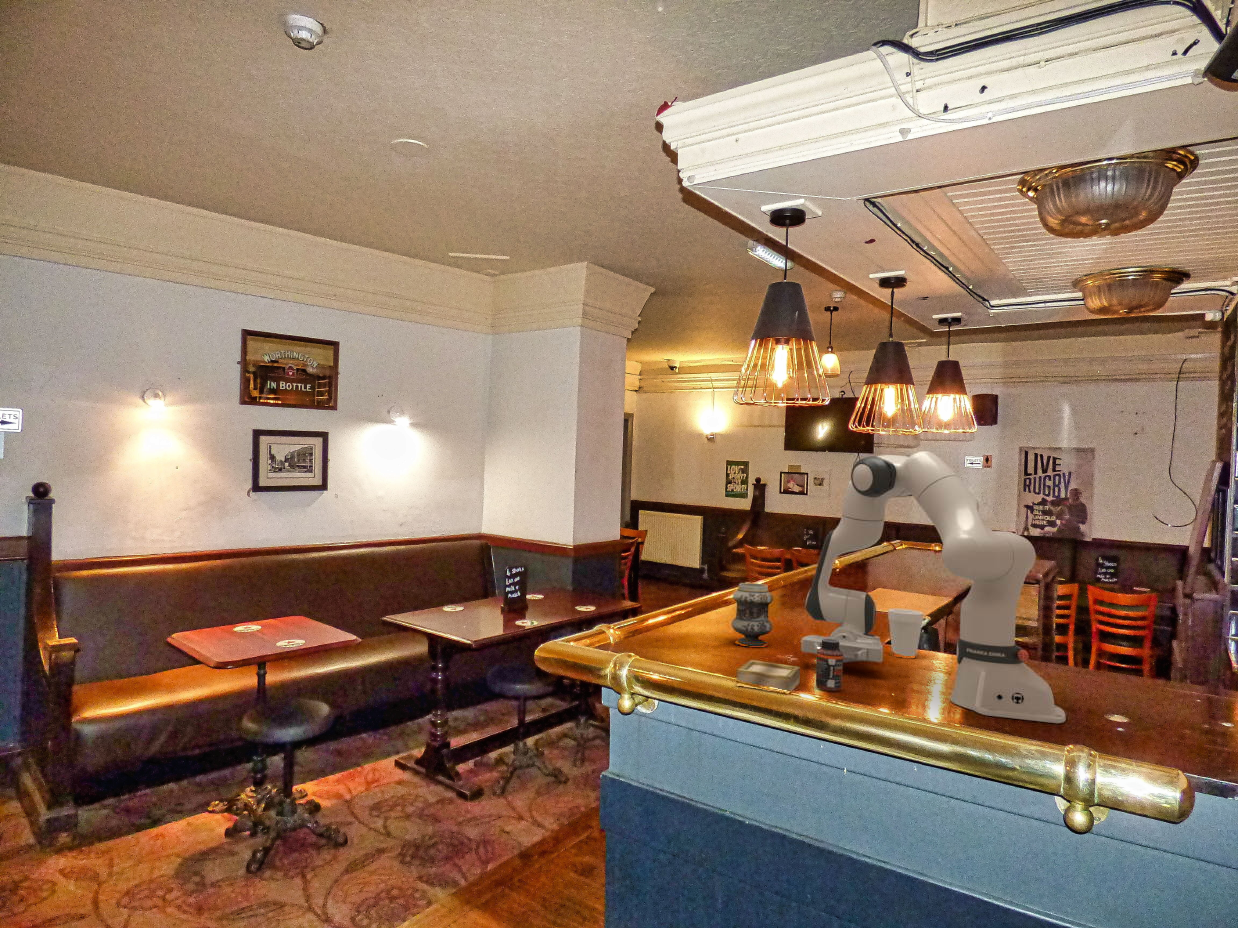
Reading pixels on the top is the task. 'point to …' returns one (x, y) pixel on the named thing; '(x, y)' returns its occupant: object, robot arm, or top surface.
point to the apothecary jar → (752, 613)
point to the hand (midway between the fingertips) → (837, 653)
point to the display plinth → (769, 674)
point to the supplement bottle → (829, 666)
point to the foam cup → (905, 630)
